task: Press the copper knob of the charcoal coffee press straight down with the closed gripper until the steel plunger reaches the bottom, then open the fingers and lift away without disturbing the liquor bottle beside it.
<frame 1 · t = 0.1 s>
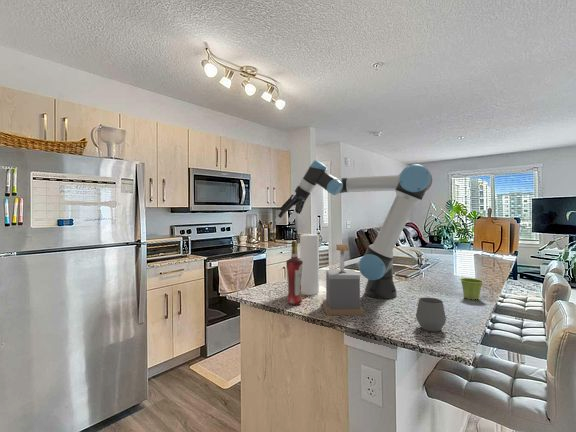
hand: (283, 221, 162), 36 cm above the worktop, tool tilted 35°, fingers open, 13 cm apart
press: (342, 309, 128), on the worktop
cup: (430, 329, 106), on the worktop
plant pot: (471, 298, 144), on the worktop
plunger: (342, 264, 128), point 19 cm above the worktop, slide at 0.0 cm
cylinder container: (309, 292, 155), on the worktop
liquor: (294, 303, 136), on the worktop
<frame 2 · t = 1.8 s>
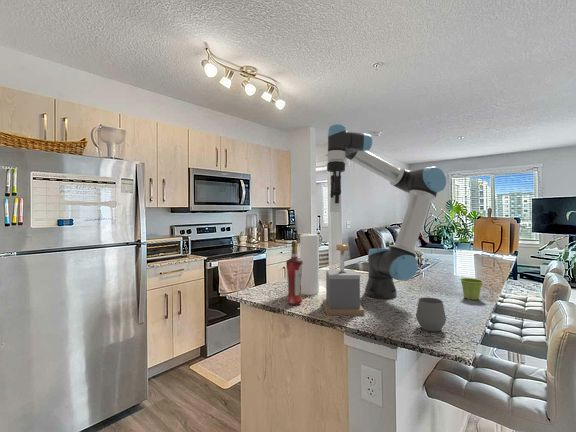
hand: (334, 212, 129), 41 cm above the worktop, tool pointing down, fingers open, 13 cm apart
nothing on the worktop moved.
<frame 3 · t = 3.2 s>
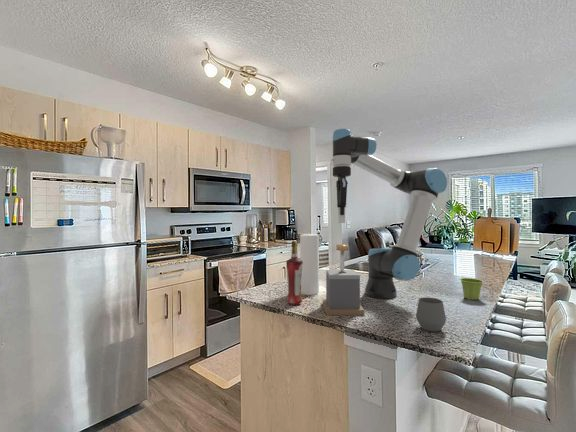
hand: (341, 222, 128), 36 cm above the worktop, tool pointing down, fingers closed
nothing on the worktop moved.
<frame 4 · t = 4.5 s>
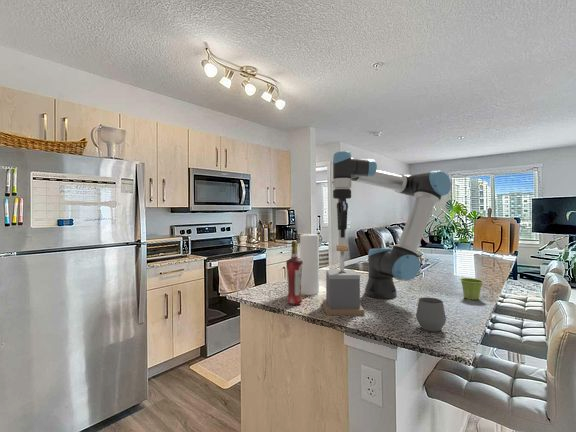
hand: (342, 245, 128), 27 cm above the worktop, tool pointing down, fingers closed
plunger: (342, 264, 128), point 19 cm above the worktop, slide at 0.3 cm, touching gripper
everything else where it was.
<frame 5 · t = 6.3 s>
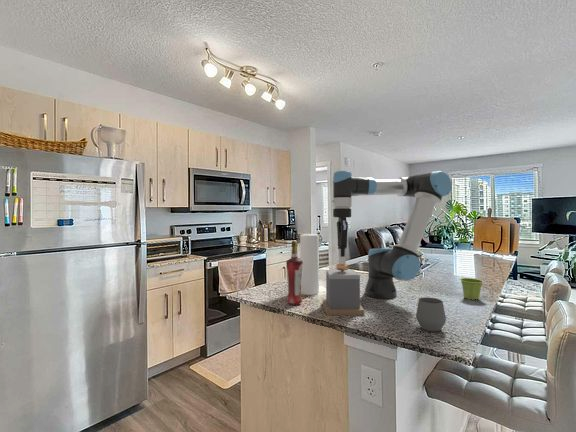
hand: (342, 263, 128), 19 cm above the worktop, tool pointing down, fingers closed
plunger: (342, 283, 128), point 11 cm above the worktop, slide at 8.2 cm, touching gripper
everything else where it was.
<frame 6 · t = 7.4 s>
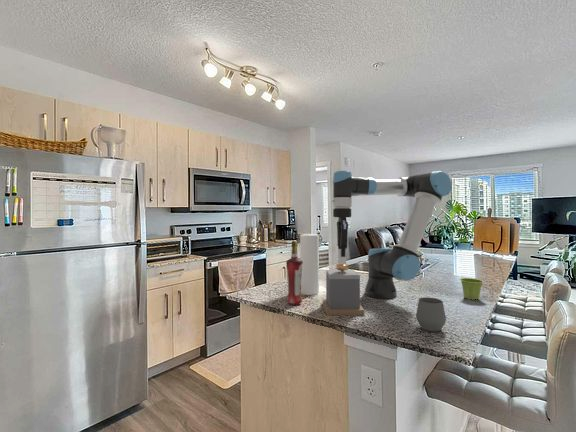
hand: (342, 263, 128), 19 cm above the worktop, tool pointing down, fingers open, 2 cm apart
nothing on the worktop moved.
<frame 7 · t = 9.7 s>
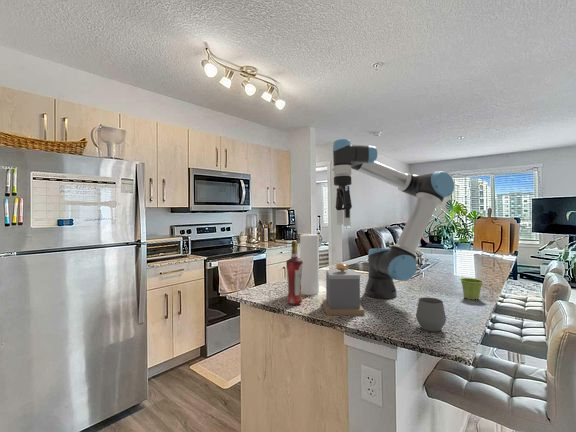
hand: (343, 225, 131), 35 cm above the worktop, tool pointing down, fingers open, 13 cm apart
plunger: (342, 283, 128), point 11 cm above the worktop, slide at 8.1 cm
everything else where it was.
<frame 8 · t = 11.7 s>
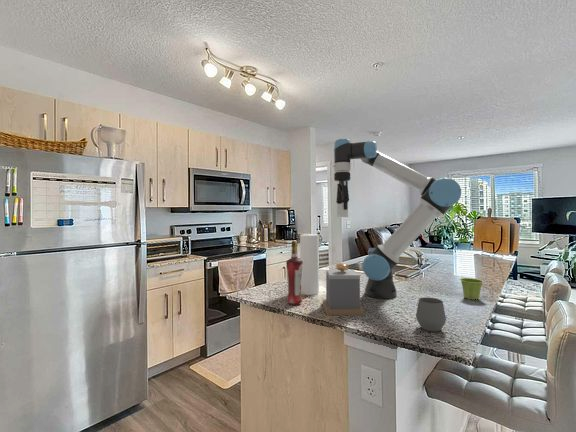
hand: (342, 216, 145), 39 cm above the worktop, tool pointing down, fingers open, 13 cm apart
nothing on the worktop moved.
at the end: plunger slide at 8.1 cm; the gripper is holding nothing; liquor tilted 0° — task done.
